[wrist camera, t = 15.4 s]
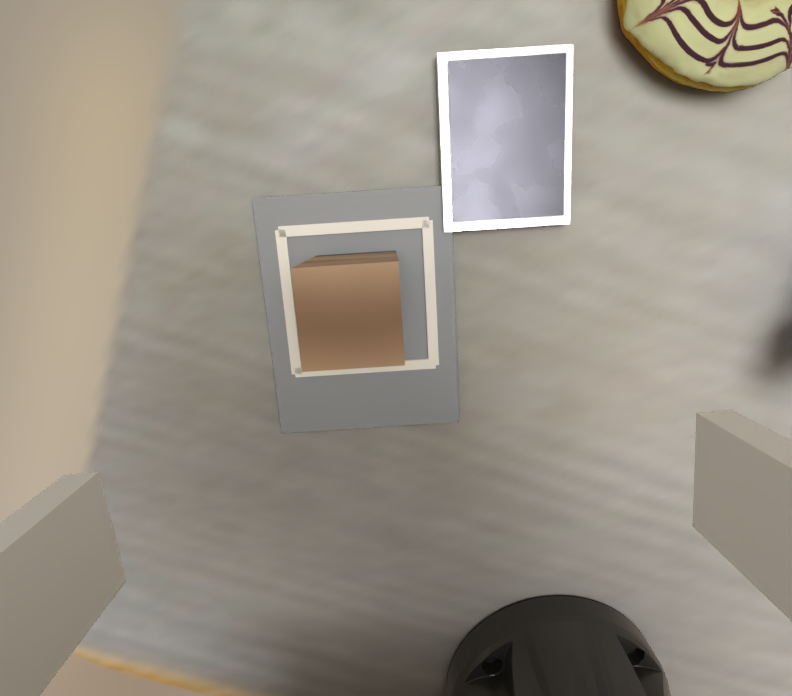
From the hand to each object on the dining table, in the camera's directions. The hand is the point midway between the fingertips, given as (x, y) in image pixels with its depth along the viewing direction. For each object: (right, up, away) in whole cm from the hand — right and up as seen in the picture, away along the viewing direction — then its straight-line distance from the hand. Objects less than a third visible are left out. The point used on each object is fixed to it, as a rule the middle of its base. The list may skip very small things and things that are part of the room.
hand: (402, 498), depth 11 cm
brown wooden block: (-2, +7, +18) cm, 20 cm away
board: (-2, +5, +19) cm, 20 cm away
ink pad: (+6, +15, +17) cm, 23 cm away
